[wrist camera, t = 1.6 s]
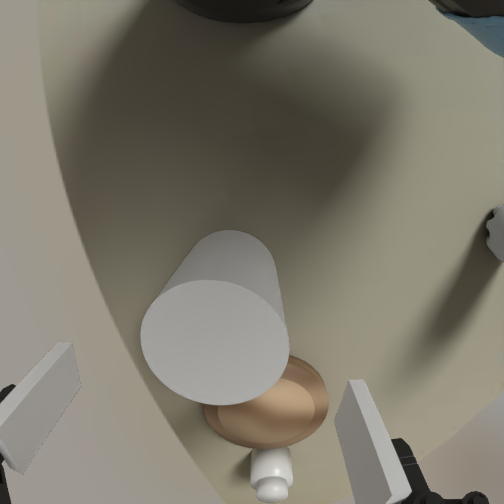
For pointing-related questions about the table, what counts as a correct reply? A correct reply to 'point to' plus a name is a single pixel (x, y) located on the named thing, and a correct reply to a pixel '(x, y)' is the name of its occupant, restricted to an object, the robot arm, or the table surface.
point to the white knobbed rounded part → (271, 473)
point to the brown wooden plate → (275, 411)
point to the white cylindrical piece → (219, 322)
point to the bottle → (496, 233)
